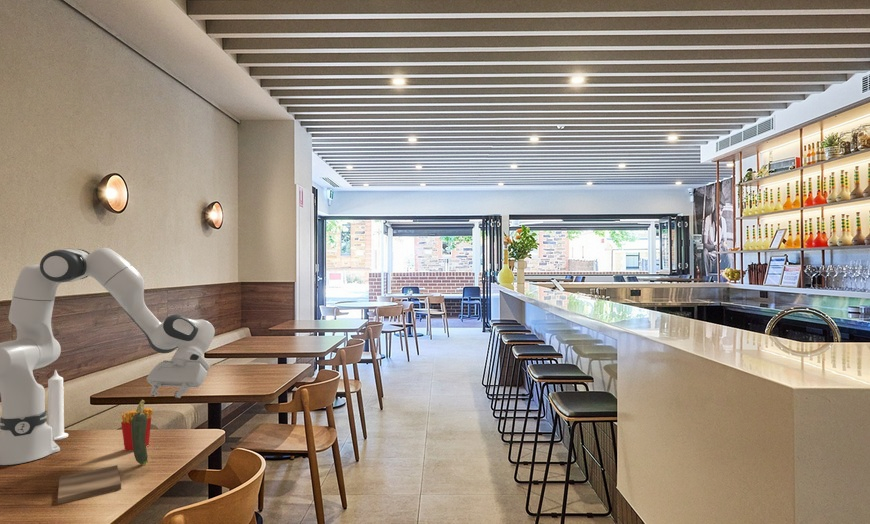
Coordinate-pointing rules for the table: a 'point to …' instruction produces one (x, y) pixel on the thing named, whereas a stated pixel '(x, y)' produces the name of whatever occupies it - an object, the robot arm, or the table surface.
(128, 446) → the french fries
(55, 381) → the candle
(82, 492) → the cutting board
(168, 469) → the table surface
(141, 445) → the vegetable
